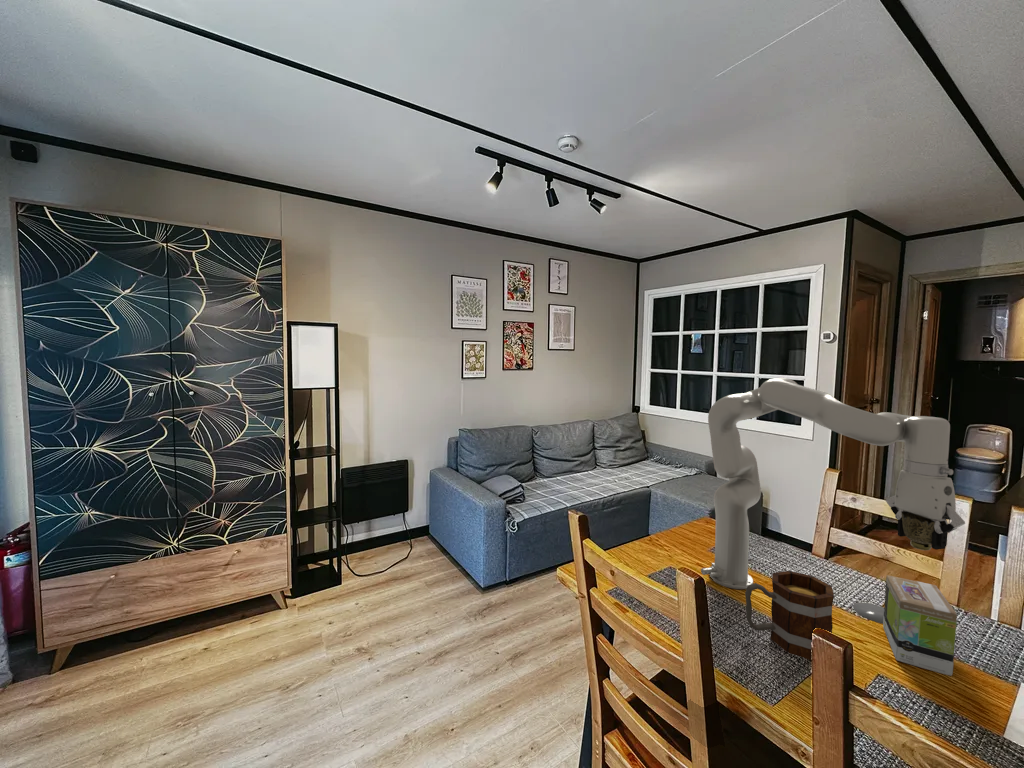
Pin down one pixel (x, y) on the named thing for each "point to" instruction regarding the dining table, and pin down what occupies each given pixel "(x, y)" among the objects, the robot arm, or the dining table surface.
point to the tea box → (919, 624)
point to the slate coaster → (870, 611)
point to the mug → (795, 610)
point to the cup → (918, 530)
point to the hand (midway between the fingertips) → (920, 541)
